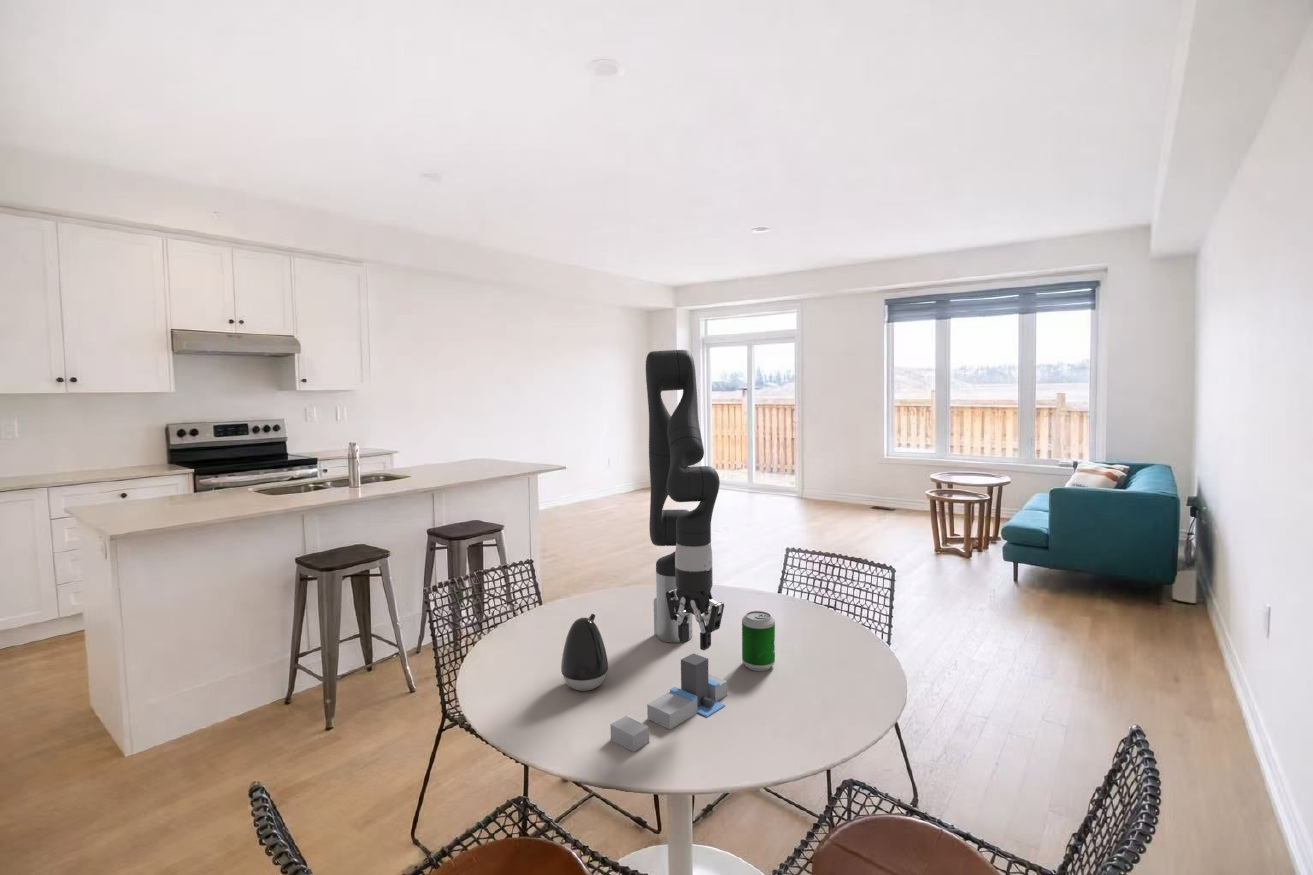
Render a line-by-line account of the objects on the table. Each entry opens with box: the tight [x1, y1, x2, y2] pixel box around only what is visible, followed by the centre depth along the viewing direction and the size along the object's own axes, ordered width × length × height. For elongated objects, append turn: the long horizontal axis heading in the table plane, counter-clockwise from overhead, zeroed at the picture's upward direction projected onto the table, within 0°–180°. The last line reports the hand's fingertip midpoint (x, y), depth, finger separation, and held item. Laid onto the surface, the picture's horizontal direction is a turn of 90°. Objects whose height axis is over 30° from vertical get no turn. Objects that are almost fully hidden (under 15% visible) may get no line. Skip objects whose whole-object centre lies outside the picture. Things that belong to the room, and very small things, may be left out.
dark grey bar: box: [680, 652, 714, 708], centre depth 133 cm, size 6×4×9 cm, turn 47°
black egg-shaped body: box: [560, 613, 609, 692], centre depth 142 cm, size 10×10×15 cm
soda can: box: [741, 610, 776, 672], centre depth 150 cm, size 8×8×12 cm
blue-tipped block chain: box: [610, 673, 728, 752], centre depth 129 cm, size 11×28×4 cm, turn 137°
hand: (694, 644), depth 133 cm, fingers open, 5 cm apart
